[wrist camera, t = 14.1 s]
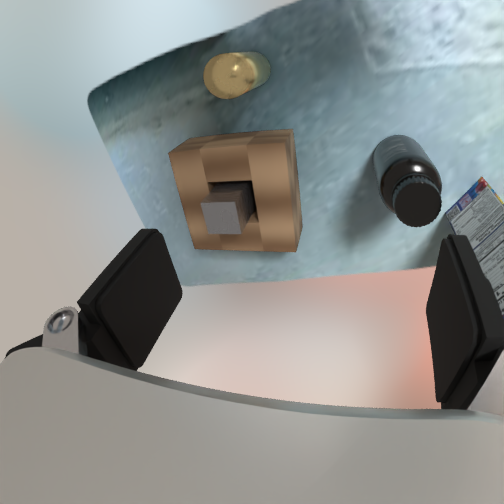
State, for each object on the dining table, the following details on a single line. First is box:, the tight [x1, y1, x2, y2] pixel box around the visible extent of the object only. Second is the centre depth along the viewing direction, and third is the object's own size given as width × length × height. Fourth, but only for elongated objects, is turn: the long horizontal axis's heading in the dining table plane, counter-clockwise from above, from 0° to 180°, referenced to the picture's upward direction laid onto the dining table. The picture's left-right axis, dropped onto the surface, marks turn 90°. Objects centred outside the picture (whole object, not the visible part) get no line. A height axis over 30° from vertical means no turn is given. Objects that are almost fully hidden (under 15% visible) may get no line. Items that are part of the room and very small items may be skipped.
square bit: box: [201, 180, 256, 234], centre depth 39 cm, size 4×4×10 cm
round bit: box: [203, 51, 271, 99], centre depth 30 cm, size 5×5×9 cm
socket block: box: [168, 129, 302, 252], centre depth 40 cm, size 14×14×6 cm
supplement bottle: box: [373, 135, 442, 227], centre depth 30 cm, size 7×7×12 cm
